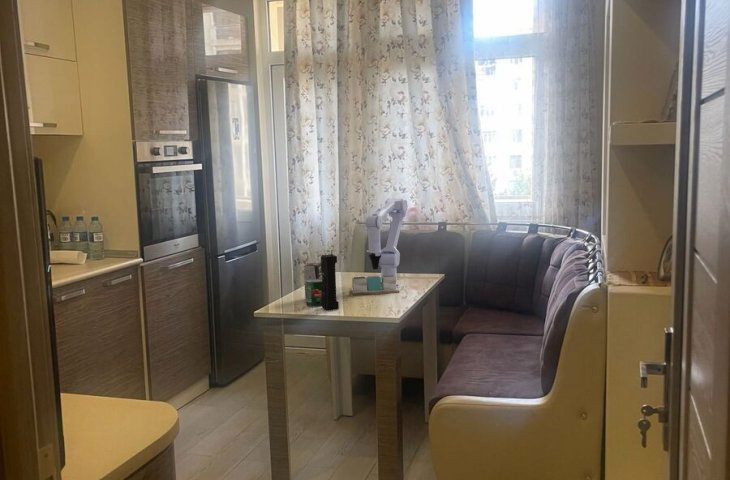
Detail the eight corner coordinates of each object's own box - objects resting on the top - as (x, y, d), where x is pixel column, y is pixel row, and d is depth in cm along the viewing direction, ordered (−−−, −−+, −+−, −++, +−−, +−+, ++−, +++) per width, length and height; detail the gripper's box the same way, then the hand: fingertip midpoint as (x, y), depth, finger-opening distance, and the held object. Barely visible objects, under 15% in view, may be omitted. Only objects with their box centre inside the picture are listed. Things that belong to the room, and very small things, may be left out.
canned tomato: (311, 303, 303) (310, 278, 301) (327, 303, 300) (326, 278, 299) (303, 306, 295) (302, 281, 294) (319, 307, 292) (318, 282, 291)
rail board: (349, 292, 325) (349, 276, 324) (395, 289, 329) (394, 273, 328) (352, 295, 316) (352, 279, 316) (399, 292, 320) (399, 276, 319)
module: (366, 289, 324) (366, 276, 324) (379, 288, 325) (378, 275, 325) (368, 291, 320) (368, 277, 319) (381, 290, 321) (380, 276, 320)
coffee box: (318, 301, 305) (317, 265, 304) (304, 301, 307) (303, 265, 305) (324, 297, 314) (322, 262, 312) (310, 297, 316) (309, 262, 314)
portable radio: (319, 307, 292) (317, 249, 289) (333, 306, 294) (331, 248, 292) (325, 311, 285) (323, 251, 282) (339, 309, 287) (337, 250, 284)
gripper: (363, 239, 333) (364, 267, 335) (368, 243, 319) (369, 271, 321) (377, 239, 334) (378, 266, 336) (383, 242, 320) (384, 271, 322)
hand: (375, 269), depth 328 cm, fingers closed
